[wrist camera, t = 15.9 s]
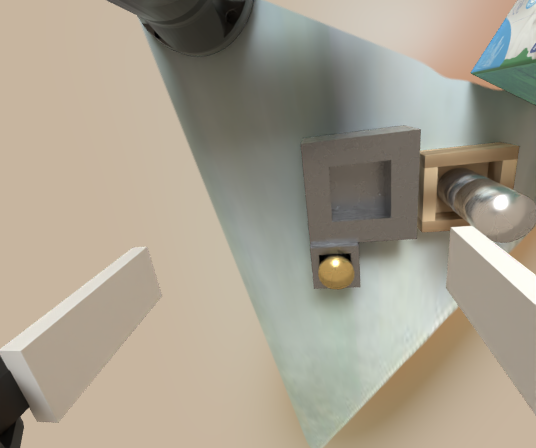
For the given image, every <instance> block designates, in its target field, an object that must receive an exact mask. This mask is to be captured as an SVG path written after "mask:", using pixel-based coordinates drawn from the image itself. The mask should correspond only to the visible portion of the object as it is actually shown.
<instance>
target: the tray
mask: <svg viewBox="0 0 536 448" xmlns="http://www.w3.org/2000/svg"><path fill="white" fill-rule="evenodd" d="M518 153H519V146H517V145H512V144H507V143H502V142H496V143H487V144H478V145H469V146H460V147H450V148H441V149H432V150H423V151H420V162H419V190H418V218H417V227H418V228H419V229H420V231H421V232H436V231H450V228H451V227H461V226H471V225H470V224H469V223H468V222H467V221H465V220H464V219H463V218H462V217H461V216H459V215H458V214H457V213H456V212H455V211H453V210H452V209H451V208H450V207H449V206H448V205H446V204H445V203H444V202H443V201H442V200H440V198H439V197H438V195H437V183H438V181H439V179H440V178H441V176H442V175H443V174H445V173H446V172H447V171H449V170H451V169H454V168H467V169H469V170H472V171H474V172H476V173H478V174H480V175H482V176H484V177H487V178H489V179H491V180H493V181H495V182H497V183H499V184H502V185H504V186H506V187H508V188H510V189H512V190H513V187H514V181H515V174H516V167H517V160H518Z"/></svg>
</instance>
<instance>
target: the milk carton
mask: <svg viewBox="0 0 536 448" xmlns="http://www.w3.org/2000/svg"><path fill="white" fill-rule="evenodd" d="M471 74H473V75H475V76H477V77H479V78H481V79H483V80H485V81H487V82H489V83H491V84H493V85H495V86H497V87H499V88H502V89H504V90H506V91H508V92H510V93H512V94H514V95H516V96H518V97H520V98H522V99H524V100H526V101H528V102H530V103H532V104H534V105H536V0H517V2H516V3H515V5H514V6H513V8H512V9H511V11H510V12H509V14H508V15H507V17H506V18H505V20H504V22H503V23H502V25H501V27H500V28H499V29H498V31H497V32H496V34H495V36H494V37H493V39H492V40H491V42H490V43H489V45H488V46H487V48H486V50H485V51H484V53H483V54H482V56H481V57H480V59H479V61H478V62H477V64H476V65H475V67H474V68H473V70H472V72H471Z"/></svg>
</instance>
